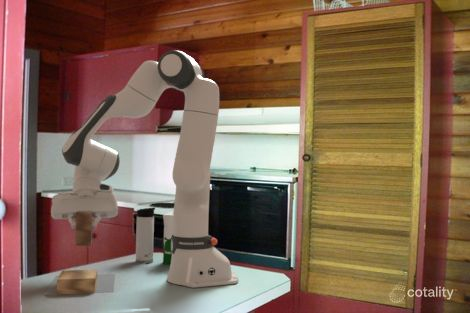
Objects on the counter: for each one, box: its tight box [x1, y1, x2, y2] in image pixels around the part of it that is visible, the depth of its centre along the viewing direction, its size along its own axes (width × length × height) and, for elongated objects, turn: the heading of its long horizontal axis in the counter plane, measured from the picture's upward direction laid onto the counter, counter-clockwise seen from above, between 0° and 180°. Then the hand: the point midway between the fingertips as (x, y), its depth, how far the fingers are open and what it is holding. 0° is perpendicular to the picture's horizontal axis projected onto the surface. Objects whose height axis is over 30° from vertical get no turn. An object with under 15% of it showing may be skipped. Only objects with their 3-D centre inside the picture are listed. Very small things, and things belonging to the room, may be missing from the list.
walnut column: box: [75, 211, 93, 247], centre depth 144 cm, size 4×4×10 cm
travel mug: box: [135, 206, 156, 264], centre depth 171 cm, size 6×7×20 cm
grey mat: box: [44, 273, 116, 296], centre depth 138 cm, size 18×20×1 cm
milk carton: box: [162, 211, 174, 265], centre depth 170 cm, size 9×9×20 cm
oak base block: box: [56, 269, 98, 295], centre depth 133 cm, size 10×10×4 cm
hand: (83, 227), depth 143 cm, fingers closed on walnut column, 4 cm apart
